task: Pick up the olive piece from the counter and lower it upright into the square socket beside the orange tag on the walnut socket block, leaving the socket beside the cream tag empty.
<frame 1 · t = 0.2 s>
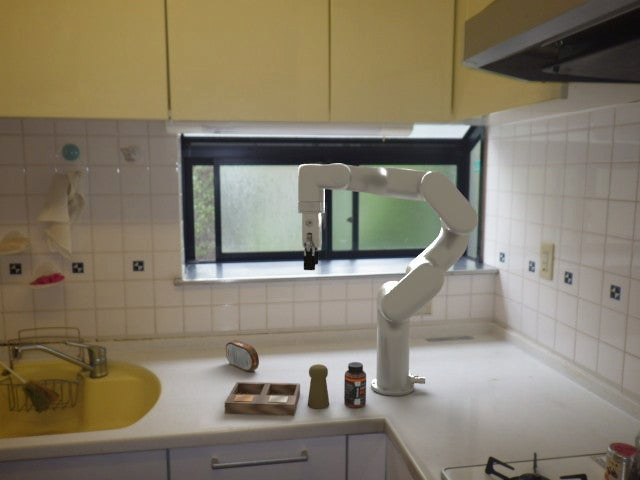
hand: (311, 267, 150), 36 cm above the worktop, tool pointing down, fingers open, 9 cm apart
tin: (241, 368, 169), on the worktop
olive piece: (318, 405, 142), on the worktop
socket block: (264, 403, 143), on the worktop
supplement bottle: (355, 404, 142), on the worktop
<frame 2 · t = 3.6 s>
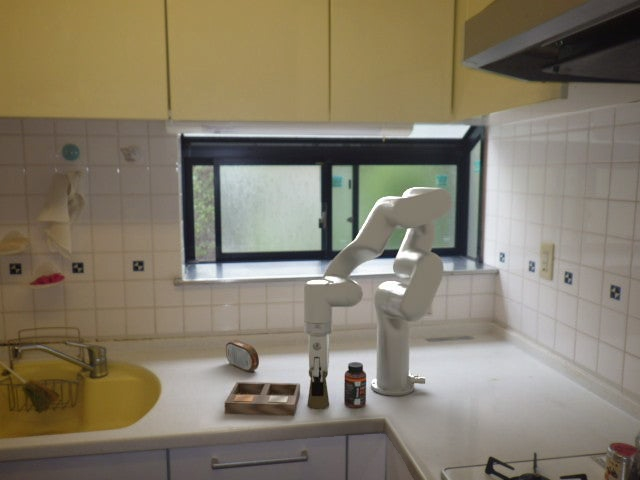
hand: (318, 391, 141), 4 cm above the worktop, tool pointing down, fingers closed on olive piece, 4 cm apart
olive piece: (318, 405, 142), on the worktop, touching gripper
everything else where it was.
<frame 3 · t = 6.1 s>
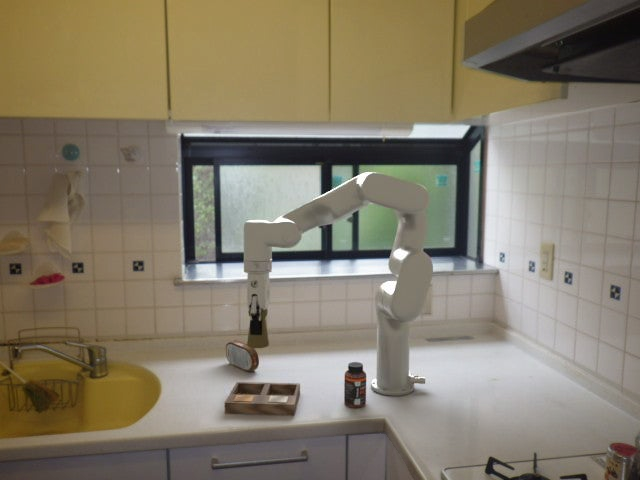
hand: (258, 331, 142), 20 cm above the worktop, tool pointing down, fingers closed on olive piece, 4 cm apart
olive piece: (258, 345, 143), point 16 cm above the worktop, touching gripper
everything else where it was.
when the fingers open (5 cm above the worktop, at t = 8.9 s): olive piece drops 1 cm, resting in socket block.
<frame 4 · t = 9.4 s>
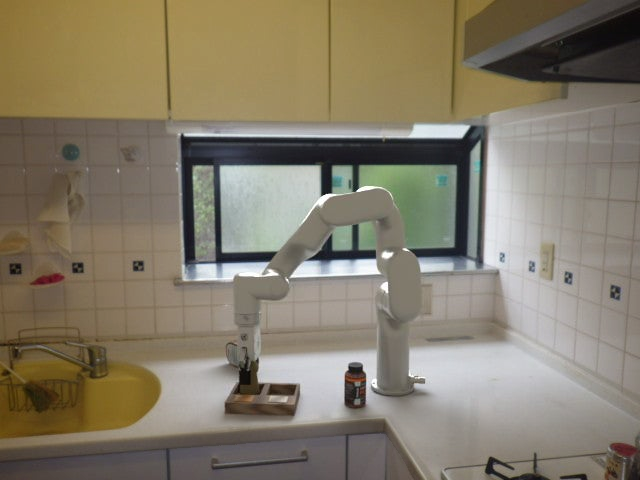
hand: (248, 377, 144), 6 cm above the worktop, tool pointing down, fingers open, 9 cm apart
olive piece: (249, 399, 145), resting in socket block
everything else where it was.
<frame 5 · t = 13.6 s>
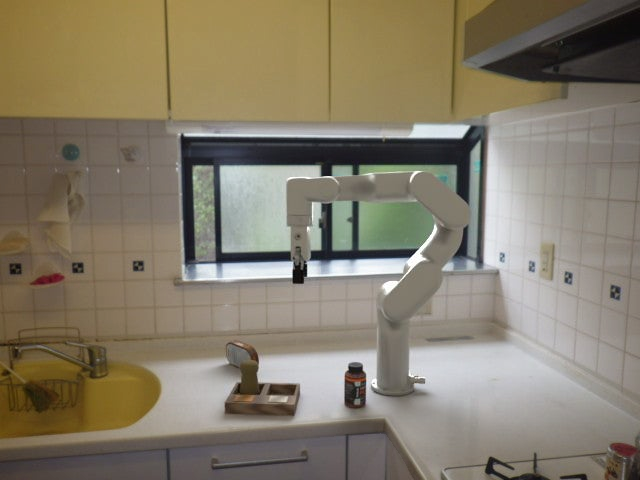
hand: (300, 280, 149), 32 cm above the worktop, tool pointing down, fingers open, 9 cm apart
nothing on the worktop moved.
at the end: olive piece 0.2 cm from the target spot on the socket block, point 0.0 cm above the socket block's base; olive piece tilted 0°; the gripper is holding nothing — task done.
